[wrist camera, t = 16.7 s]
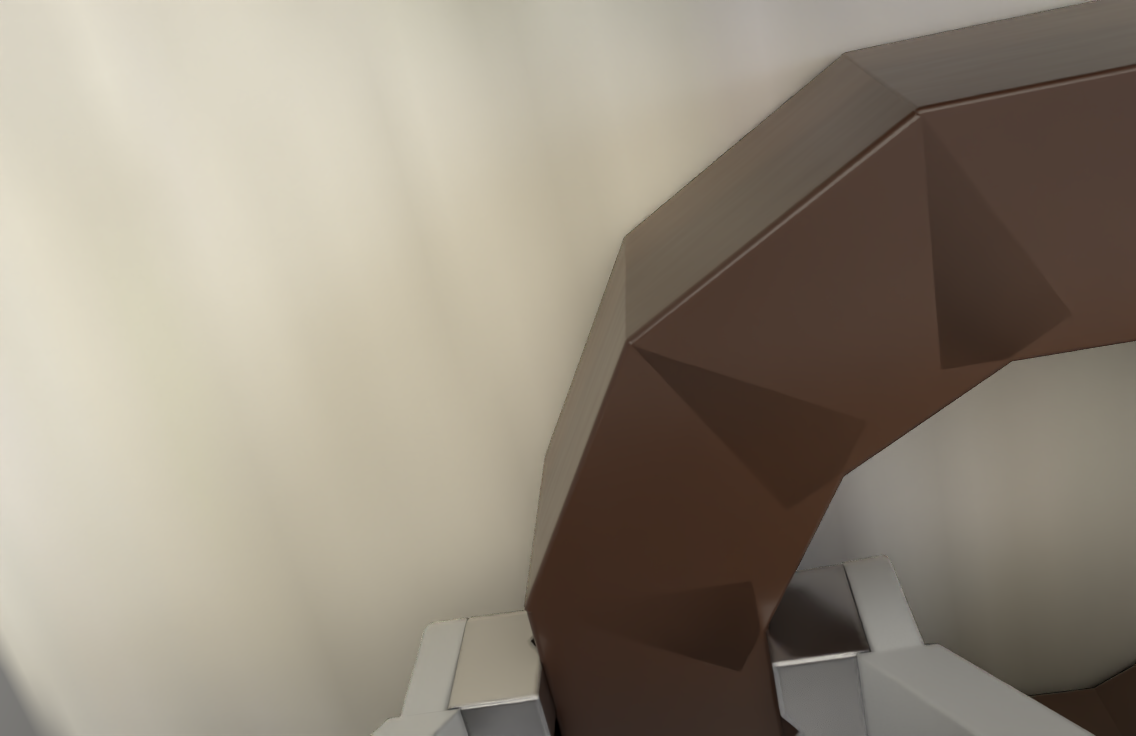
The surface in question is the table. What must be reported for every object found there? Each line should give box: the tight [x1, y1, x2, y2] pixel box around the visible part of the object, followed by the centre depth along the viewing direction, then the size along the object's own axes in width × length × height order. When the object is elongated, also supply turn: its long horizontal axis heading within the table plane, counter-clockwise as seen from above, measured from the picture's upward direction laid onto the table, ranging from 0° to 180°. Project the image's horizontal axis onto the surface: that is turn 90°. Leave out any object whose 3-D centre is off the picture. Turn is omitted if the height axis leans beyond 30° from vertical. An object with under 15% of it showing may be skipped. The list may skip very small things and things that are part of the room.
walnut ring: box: [524, 0, 1136, 736], centre depth 12 cm, size 12×12×3 cm
